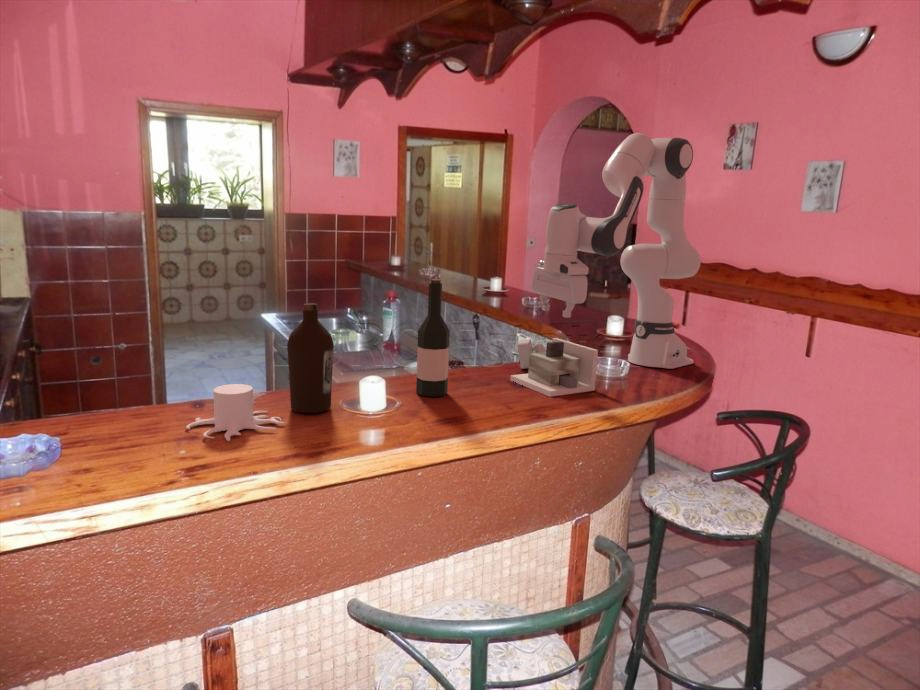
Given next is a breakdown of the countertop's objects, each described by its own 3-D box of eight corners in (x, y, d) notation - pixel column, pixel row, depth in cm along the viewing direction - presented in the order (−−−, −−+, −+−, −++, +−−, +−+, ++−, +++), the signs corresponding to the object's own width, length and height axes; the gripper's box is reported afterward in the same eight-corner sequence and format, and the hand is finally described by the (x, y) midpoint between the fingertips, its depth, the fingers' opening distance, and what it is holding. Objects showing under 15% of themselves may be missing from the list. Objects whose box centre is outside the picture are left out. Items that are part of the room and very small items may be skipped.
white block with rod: (555, 372, 197) (551, 340, 195) (521, 375, 199) (517, 344, 198) (556, 366, 205) (552, 335, 203) (524, 369, 207) (520, 339, 205)
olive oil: (282, 413, 150) (281, 306, 145) (294, 399, 161) (293, 299, 156) (328, 415, 150) (328, 308, 145) (337, 401, 161) (337, 301, 156)
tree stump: (294, 428, 142) (294, 393, 140) (203, 445, 130) (201, 407, 128) (259, 405, 157) (259, 372, 155) (175, 418, 145) (173, 383, 143)
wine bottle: (429, 386, 178) (432, 277, 172) (453, 392, 173) (458, 280, 167) (409, 392, 171) (412, 279, 165) (434, 398, 167) (438, 282, 161)
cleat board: (553, 375, 196) (556, 337, 194) (594, 390, 181) (598, 350, 179) (510, 380, 188) (512, 341, 186) (549, 396, 173) (552, 354, 171)
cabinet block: (555, 374, 191) (557, 337, 189) (577, 382, 183) (581, 344, 180) (527, 377, 186) (530, 340, 184) (550, 386, 178) (552, 347, 175)
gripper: (528, 259, 185) (524, 307, 188) (574, 269, 168) (570, 321, 171) (545, 259, 188) (542, 306, 191) (593, 269, 171) (588, 320, 174)
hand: (555, 313), depth 181 cm, fingers open, 8 cm apart
